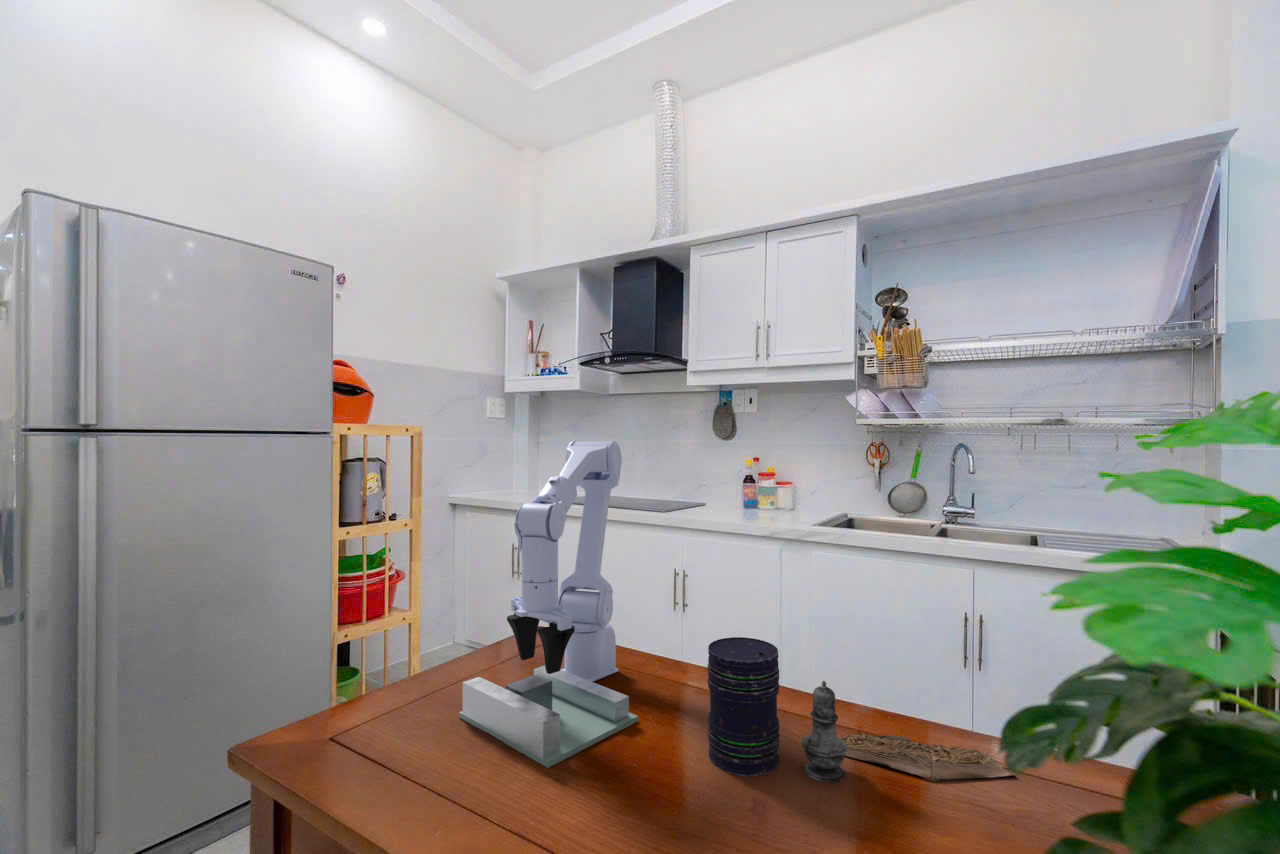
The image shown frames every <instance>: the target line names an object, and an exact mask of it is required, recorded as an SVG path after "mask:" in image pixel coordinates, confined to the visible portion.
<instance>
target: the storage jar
mask: <svg viewBox="0 0 1280 854" xmlns="http://www.w3.org/2000/svg"><path fill="white" fill-rule="evenodd" d="M707 651H708V657H707V659H708V661H707V662H708V663H707V677H708V678H707V686H708V687H707V688H708V690H709V712H708V716H707V717H708V718H707V725H708V726H707V739H708V758H709V760H710V762H711V763H712V764H713V766H714V767H716V768H717V769H718V770H720V771H723V772H726V773H728V774H731V775H734V776H735V775H736V776H738V777H739V776H741V777H758V776H763V775H764V776H765V775H767V774H769V773H771V772H773V771H775V770H776V768H777V767H778V766H779V764H780V763H779V762H780V755H779V751H780V744H781V741H780V740H781V738H780V730H781V729H780V728H781V727H780V725H781V724H780V719H779V717H778V707H777V706H778V695H779V692H780V690H779V689H780V682H779V681H780V669H779V660H778V659H779V649H778V647H777V646H775V645H774V644H772V643H770V642H768V641H765V640H762V639H759V638H758V639H757V638H751V637H742V636H741V637H740V636H739V637H738V636H737V637H735V636H734V637H725V638H724V637H723V638H720V639H717V640H713V641H712V642H710V643H709V644H708V649H707Z"/></svg>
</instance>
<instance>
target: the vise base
mask: <svg viewBox="0 0 1280 854" xmlns="http://www.w3.org/2000/svg"><path fill="white" fill-rule="evenodd" d="M458 712H459V713H458V718H459V719H461V720H462V721H465V722H467V723H468V724H470V725H472V726H474V727H475V728H478V730H480V729H481V731H482V730H483V731H482V732H484V731H485V732H484V733H486V732H487V733H489V734H491V735H492V736H491V735H490V736H491V737H493V736H495V737H496V738H497V739H496V738H495V739H496V740H498V739H499V740H498V741H500V740H501V741H503V742H504V743H503V742H502V743H503V744H505V743H506V744H505V745H506V746H509V747H510V746H511V748H512V749H514V750H515V751H518V752H519V753H521V754H523V755H524V754H525V755H524V756H527V757H528V758H530V759H532V760H533V761H535V762H537V763H538V764H541V765H542V766H543V767H546V768H547V769H548V768H550V767H551V768H552V767H553V766H554V765H556V764H558V763H560V762H562V761H564V760H566V759H568V758H570V757H571V756H574V755H576V754H577V753H579V752H581V751H583V750H586V749H587V748H589V747H591V746H592V745H595V744H597V743H599V742H600V741H602V740H604V739H606V738H608V737H611V736H613V735H614V734H616V733H619V732H620V731H622V730H624V729H625V728H628V727H630V726H632V725H633V724H635V723H637V722H638V721H639V716H638V715H636V714H634V713H632V712H629V716H627V717H625V718H623V719H621V720H619V721H617V722H614V721H611V720H609V719H607V718H604V717H602V716H600V715H598V714H595V713H593V712H591V711H589V710H586V709H584V708H582V707H579V706H577V705H575V704H573V703H570V702H568V701H566V700H563V699H561V698H559V697H557V696H554V695H552V710H550V709H547V708H545V707H543V706H541V705H539V704H537V703H535V702H532V701H530V700H528V699H526V698H524V697H522V696H520V695H517V694H515V693H513V692H511V691H509V690H507V689H506V687H505V688H504V687H503V686H501V685H499V684H496V683H494V682H492V681H490V680H487V679H485V678H483V677H480V676H478V677H475V678H471V679H468V680H464V681H463V682H462V710H461V711H458ZM487 733H486V734H487ZM489 734H488V735H489ZM501 741H500V742H501Z"/></svg>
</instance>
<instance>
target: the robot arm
mask: <svg viewBox="0 0 1280 854" xmlns="http://www.w3.org/2000/svg"><path fill="white" fill-rule="evenodd" d="M564 458H565V465H564V466H563V468H562V469H561V471H560V473H559V474H558V475H556V476H551V477H549V479H548V480H547V482H546V483H545V484H544V485H543V487H542V488H541V489H540V491H539V492H538V494H536V496H535V498H533V500H532V501H531V502H527V503H524V504H523V505H522V506H520V507H519V508H518V510H517V512H516V514H515V521H514V524H513V525H514V526H513V527H514V532H515V535H516V538H517V548H518V550H520V551H521V596H518V597H515V598H514V597H513V598H510V599H511V607H510V609H511V611H512V612H514V613H513V614H510V615H507V616H506V622H507V623H508V624H509V626H510V627H511V630H512V632H513V634H514V638H515V641H516V646H517V650H518V654H519V658H520V660H521V661H527V660H529V659H533V658H534V657H535V656H534V655H535V653H536V643H537V642H536V641H537V633H538V637H539V639H540V642H541V645H542V649H543V655H544V656H543V658H544V665H545V668H546V672H547V673H548V674H552V673H555V672H558V671H560V670H563V671H565V672H568V673H571V674H573V675H576V676H578V677H581V678H583V679H586V680H588V681H591V682H595V681H599V680H601V679H603V678H606V677H608V676H610V675H612V674H615V673H618V672H619V671H620V670H619V668H618V667H616V661H617V660H616V658H617V656H616V654H617V653H616V652H617V651H616V649H617V648H616V647H617V645H616V642H617V641H616V634H615V630H614V628H613V627H612V625H611V624H610V622H611V620H612V616H613V611H614V610H613V609H614V602H613V592H614V589H613V587H612V585H611V584H610V582H609V581H608V580H606V578H604V577H603V576H602V574H601V570H602V561H603V553H604V545H605V544H604V543H605V538H606V528H607V520H608V513H609V505H610V498H611V497H610V496H611V492H612V490H613V489H614V488H616V487H618V486H619V483H620V481H619V480H620V477H621V469H622V463H623V462H622V461H623V460H622V459H623V458H622V451H621V448H620V445H619V444H618V442H617V441H616V440H612V441H577V440H572V441H570V443H569V444H568V446H566V450H565V457H564ZM577 487H580V488H583V489H584V493H585V494H584V501H583V508H582V515H581V522H580V531H579V537H578V544H577V545H578V546H577V552H576V560H575V567H574V572H572V573H571V574H570V575H568V576H567V577H565V578H564V579H563V580H561V582H560V586H559V539H560V538H561V537H562V536H563V534H564V530H565V524H566V522H567V518H568V515H567V514H568V512H569V510H570V509H571V507H572V505H573V504H574V502H575V501H576V499H577V496H578V491H577ZM589 590H590V591H589ZM541 621H542V622H545V623H547V624H548V626H545V627H541V628H539V624H540V622H541ZM563 660H564V668H562V663H563Z"/></svg>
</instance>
